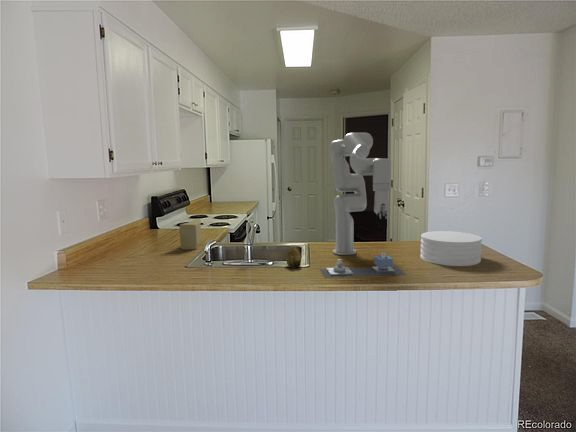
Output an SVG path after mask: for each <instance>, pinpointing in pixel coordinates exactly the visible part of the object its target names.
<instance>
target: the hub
mask: <svg viewBox="0 0 576 432" xmlns="http://www.w3.org/2000/svg"><path fill="white" fill-rule="evenodd" d="M336 263H337V264H336V265H334V266H333V267H326V270H327V271H328V273H329V274H330V276H343V275H353V272H352V271H351V270H350V269H349V268H350V267H349V266H345V265H343V259H342V258H338V259H337V260H336Z"/></svg>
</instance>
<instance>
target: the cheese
mask: <svg viewBox="0 0 576 432" xmlns="http://www.w3.org/2000/svg"><path fill="white" fill-rule="evenodd" d="M201 225H202V223H201V219H200V218H195V219H193V220H191V221H188V222H186V223H181V224H179V242H180V248H181V250H193V251H194V250H197V249H198V247H199V245H200V244H202V238H203V237H202V226H201Z"/></svg>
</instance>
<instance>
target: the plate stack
mask: <svg viewBox="0 0 576 432" xmlns="http://www.w3.org/2000/svg"><path fill="white" fill-rule="evenodd" d="M420 238H421V239H420V257H419V258H420V259H421V260H423V261H426V262H427V263H432V264H435V265H442V266H449V267H450V266H451V267H452V266H453V267H469V266H475V265H479V264H480V263H481V260H482V258H481V257H482V245H483V243H482V241H483V237H481V236H480V235H477V234H475V233H468V232H464V231H451V230H450V231H449V230H447V231H446V230H445V231H444V230H440V231H439V230H437V231H436V230H433V231H426V232H423V233H421V235H420Z"/></svg>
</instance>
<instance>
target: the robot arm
mask: <svg viewBox="0 0 576 432" xmlns="http://www.w3.org/2000/svg"><path fill="white" fill-rule="evenodd" d="M373 144H374V139H373V135H371V133H368V132H349V133H347V134H346V135H345V136H344V137H343V139H337V140H336V139H335V140H333V141H331V142H330V144H329V147H328V155H329V158H330V163H331V165H332V168H333V179H334V186H335V187H334V188H335V190H336V191H337V192H341V194H338V195H336V196H335V197H334V198H333V206H334V207H333V208H334V213H335V214H334V215H335V248H334V249H332V253H333V254H334V255H339V256H352V255H355V254H357V249H356V248H355V249H354V235H355V234H354V233H355V232H354V231H355V230H354V229H355V228H354V226H355V225H354V224H355V222H354V218H353V216H352V215H351V213H353V212H356V213H357V212H363V211H365V210H366V209H367V206H368V203H367V202H368V201H367V192H366V191H367V190H366V181H365V179H364V176H372V191H373V192H374V197H373V199H374V200H373V201H374V202H373V203H374V204H373V212H374V213H375V214H376V216H375V217H376V221H375V222H376V223H375V224H376V226H378V228H379V229H385V230H386V229H387V228H388V219H387V218H388V217H387V214H388V211H389V192H391V191H392V188H391V186H392V184H391V183H392V161H391V159H390V158H381V157H380V158H379V157H372V158H371V157H369V158H367V157H368V156H369V154H370V150H371V148H372V146H373ZM344 157H349V163H348V161H347V160H346V159H345V158H344ZM350 168H351V169H352V170H353V172H355V173H351V172H350V171H351V170H350ZM342 192H343V194H342ZM344 192H345V193H344ZM346 192H347V193H346ZM348 192H354V193H348Z"/></svg>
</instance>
